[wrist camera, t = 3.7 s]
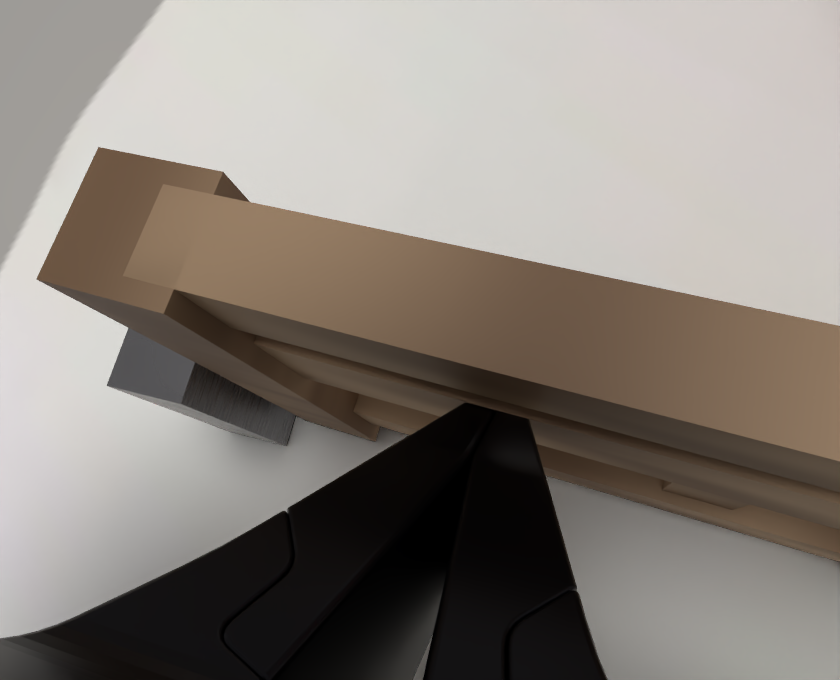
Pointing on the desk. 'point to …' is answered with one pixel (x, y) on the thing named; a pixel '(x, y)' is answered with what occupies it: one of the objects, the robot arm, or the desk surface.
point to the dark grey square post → (195, 391)
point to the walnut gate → (470, 345)
